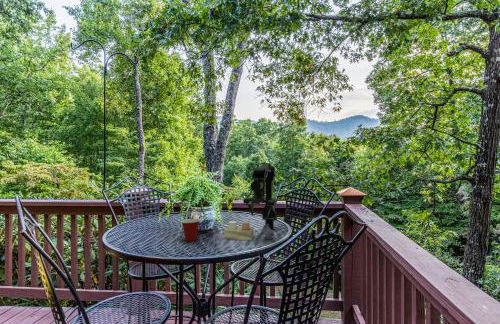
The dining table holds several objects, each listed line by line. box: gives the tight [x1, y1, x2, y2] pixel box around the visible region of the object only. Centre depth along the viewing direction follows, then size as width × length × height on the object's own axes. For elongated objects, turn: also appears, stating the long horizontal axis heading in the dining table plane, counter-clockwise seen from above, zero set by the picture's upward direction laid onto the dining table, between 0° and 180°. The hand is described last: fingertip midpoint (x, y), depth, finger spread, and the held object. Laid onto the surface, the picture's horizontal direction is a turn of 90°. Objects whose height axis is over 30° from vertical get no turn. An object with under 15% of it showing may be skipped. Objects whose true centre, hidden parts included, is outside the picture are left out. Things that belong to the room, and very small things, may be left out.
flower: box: [258, 224, 275, 240], centre depth 183 cm, size 9×9×10 cm
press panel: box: [223, 225, 255, 241], centre depth 187 cm, size 12×16×5 cm
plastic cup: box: [180, 218, 201, 243], centre depth 180 cm, size 11×11×12 cm
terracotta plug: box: [241, 221, 251, 230], centre depth 186 cm, size 4×4×5 cm
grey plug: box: [228, 220, 237, 230], centre depth 187 cm, size 4×4×5 cm
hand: (259, 216), depth 180 cm, fingers open, 9 cm apart
